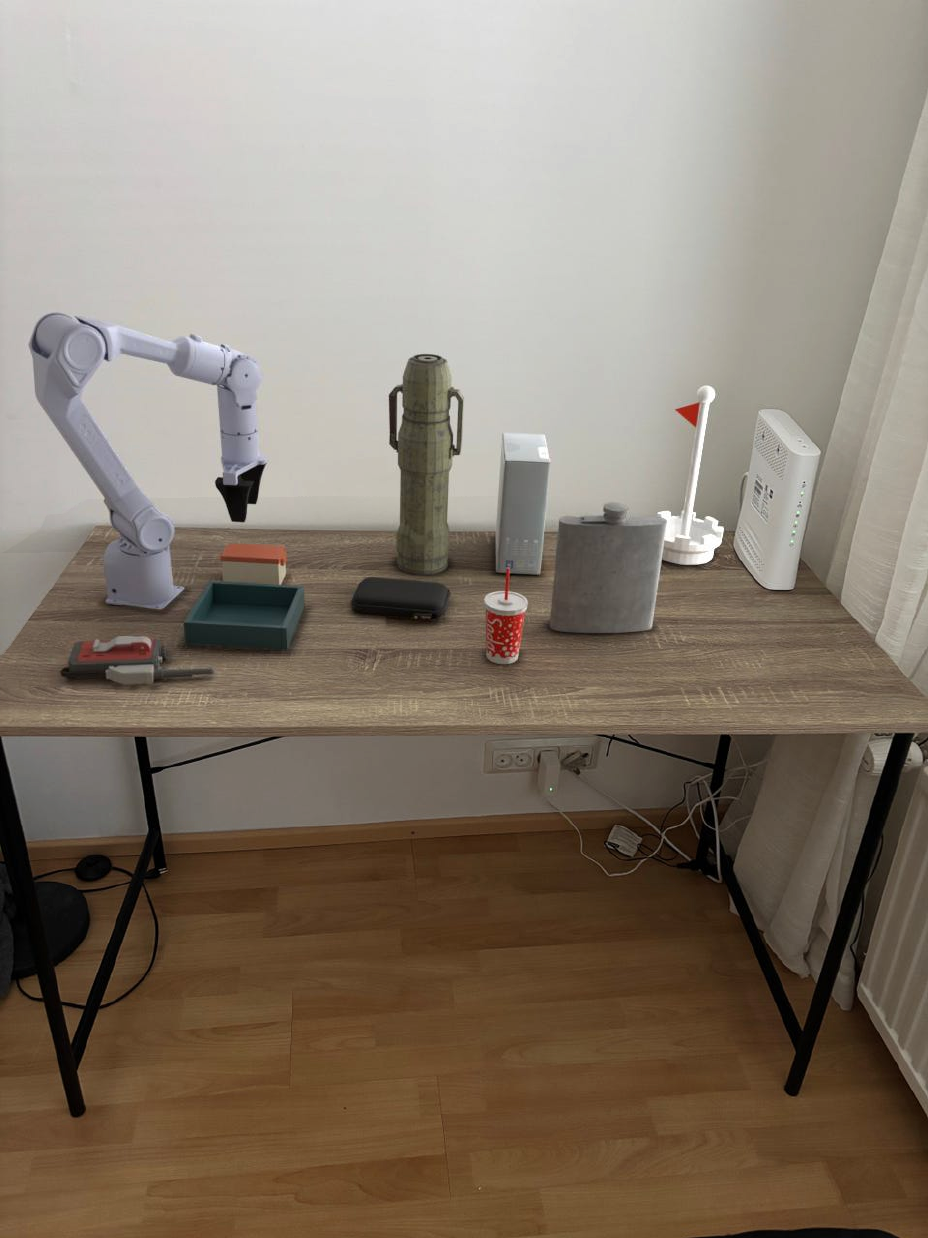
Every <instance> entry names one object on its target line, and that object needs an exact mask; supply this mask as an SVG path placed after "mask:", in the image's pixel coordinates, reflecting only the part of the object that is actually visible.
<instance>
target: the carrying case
mask: <svg viewBox="0 0 928 1238" xmlns="http://www.w3.org/2000/svg"><path fill="white" fill-rule="evenodd" d="M451 595H452V594H451V590H450V589H449V588H448V587H447V585H445V584H444V583H442V582H437V581H425V580H414V579H404V578H390V577H380V576H379V577H378V576H368V577H365V578H363V580H361V581H360V582H359V583H358V584H357V587H356V589H355V591H354V594H353V596H352V597H351V600H350V606H351V608H352V609H353V610H355V612H357V613H359V614H367V615H378V616H385V617H388V618H399V619H410V620H413V621H419V620H423V621H436V620H439V619H440V618H442V617H443V616H444V615H445V614H446V612H447V610H448V606H449V603H450V599H451Z"/></svg>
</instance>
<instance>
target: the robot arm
mask: <svg viewBox="0 0 928 1238" xmlns="http://www.w3.org/2000/svg"><path fill="white" fill-rule="evenodd" d="M74 318H75V319H76V320H75V319H74ZM74 318H73V317H72V316H69V315H67V314H65V313H62V312H55V311H54V312H49V313H46V314H44V315H42V316H40V318H39V319H38V321H36V323H35V325H34V328H33V330H32V333H31V336H30V339H29V341H28V348H29V352H30V355H31V357H32V367H33V368H32V369H33V382H34V383H33V385H34V394H35V398H36V400H37V402H38V403H39V405H40V407H41V408H42V409H43V411H44V412H45V414H46V415H47V416H48V418H49V419H50V421H51V422H52V424H53V425H54V427H55V429H57V431H58V432H59V434H60V436H61V438H63V440H64V441H65V443H66V445H67V446H68V447H69V449H70V450H71V451H72V453H73V454H74V456H75V458H76V459H77V460H78V462H79V463H80V465H81V466H82V467H83V469H84V470H85V472H86V473H87V475H88V476H89V477H90V479H91V480H92V482H93V484H94V485H95V486H96V488H97V489H98V491H99V492H100V493H101V495H102V496H103V498H104V499H103V503H104V504H105V506H106V509H107V510H108V515H109V523H110V524H111V526H112V528H113V529H114V530H115V531H116V532H118V533H119V539H118V540H113V541H111V542H110V543H109V544H108V545H107V547H106V549H105V551H104V555H103V571H104V579H105V586H106V594H107V598H106V599H105V604H107V605H112V606H113V605H114V606H120V607H122V605H126V606H133V607H140V608H141V607H142V608H146V609H153V610H163V609H164V608H165V607H166V606H168V605H169V604H170V603H171V602H172V601H173V600H174V599H175V598H176V597H178V595H179V594H181V593H182V591H184V590H185V586H179V585H174V579H173V570H172V559H171V550H170V545H171V543H172V541H173V540H174V537H175V532H176V531H175V524H174V521H173V520H172V518H171V517H170V516H169V515H168V514H166V513H164V512H162V511H161V510H159V509H158V508H157V507H156V506H155V504H154V502H153V501H152V500H151V499H150V498H149V497H148V496H147V494H145V492H144V491H143V490H142V488H140V487H139V485H138V484H137V482H136V481H135V480H134V478H133V476H132V474H131V473H130V472H129V470H128V469H127V467H126V465H125V464H124V462H123V461H122V460H121V458H120V457H119V455H118V453H117V452H116V450H115V448H114V447H113V445H112V443H110V441H109V439H108V438H107V437H106V435H105V434H104V431H102V428H100V426H99V424H98V423H97V421H96V419H95V418H94V417H93V415H92V414H91V412H90V410H89V409H88V408H87V406H86V405H85V403H84V401H83V400H82V395H83V393H84V390H85V387H86V385H87V384H88V383H89V381H90V380H91V379H92V377H93V376H94V374H95V373H96V372H97V370H98V369H99V367H100V366H101V364H102V363H103V361H106V362H108V363H110V362H112V361H113V360H114V359H115V358H117V357H118V356H119V355H126V356H130V357H131V356H132V357H136V358H140V359H144V360H149V361H153V362H158V363H162V364H166V365H167V366H168V368H169V370H170V372H171V373H172V374H173V375H174V376H175V377H180V378H184V379H187V380H192V381H195V382H200V383H204V384H207V385H210V386H216V391H217V404H218V405H217V406H218V419H219V434H220V446H221V447H220V449H221V457H220V462H221V467H222V470H223V471H222V476H217V478H216V479H215V480H214V485H215V488H216V489H217V490H218V492H219V493H220V495H221V497H222V498H223V501H224V503H225V507H226V509H227V512H228V515H229V519H230V520H231V523H245V522H246V520H247V516H248V505H257V503H258V500H259V494H260V486H261V480H262V478H263V477H262V476H263V473H264V470H265V468H266V465H267V464H268V457H267V456H265V455H264V456H263V455H261V454H260V443H259V425H258V424H259V422H258V421H259V420H258V404H257V403H258V401H257V400H258V394H257V393H258V389H259V388H260V386H261V384H262V381H263V377H264V372H263V371H261V370H260V365H259V364H258V362H257V361H256V360H255V358H254V357H252V356H251V355H248V354H247V353H246V354H245V353H243V352H241V351H238V350H237V349H234V348H231V346H230V345H228V344H224V343H221V344H220V345H216V344H214V343H210V342H206V341H203V337H202V336H200V335H198V334H195V333H190V334H189V336H186V335H181V336H179V337H176V338H175V339H173V340H172V341H169V340H166V339H163V338H160V337H157V336H154V335H151V334H147V333H144V332H141V331H137V330H134V329H132V328H129V327H125V326H122V325H120V324H115V323H113V322H109V321H105V320H101V319H95V318H90V317H85V316H81V315H80V316H79V315H74Z"/></svg>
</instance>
